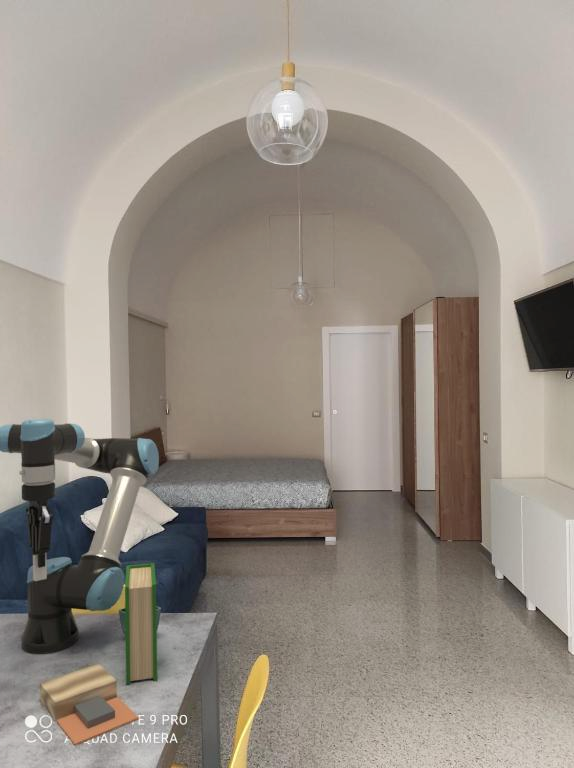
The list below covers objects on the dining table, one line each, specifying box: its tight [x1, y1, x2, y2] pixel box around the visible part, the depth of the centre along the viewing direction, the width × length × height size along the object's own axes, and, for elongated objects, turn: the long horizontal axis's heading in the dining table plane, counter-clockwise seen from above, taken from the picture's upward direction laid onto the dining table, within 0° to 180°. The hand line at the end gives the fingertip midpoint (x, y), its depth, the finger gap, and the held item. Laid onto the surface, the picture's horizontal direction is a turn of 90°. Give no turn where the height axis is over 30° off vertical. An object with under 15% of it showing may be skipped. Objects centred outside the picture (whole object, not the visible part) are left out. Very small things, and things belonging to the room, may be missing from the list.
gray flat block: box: [74, 696, 115, 729], centre depth 127 cm, size 8×6×2 cm
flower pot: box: [118, 605, 162, 638], centre depth 165 cm, size 9×9×9 cm
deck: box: [39, 663, 118, 722], centre depth 134 cm, size 11×14×4 cm
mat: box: [56, 696, 140, 746], centre depth 125 cm, size 11×14×1 cm
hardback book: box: [124, 562, 158, 686], centre depth 150 cm, size 18×7×24 cm, turn 14°
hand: (39, 579), depth 140 cm, fingers closed
